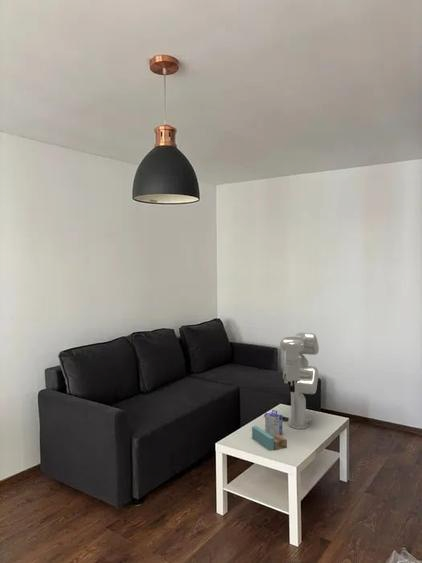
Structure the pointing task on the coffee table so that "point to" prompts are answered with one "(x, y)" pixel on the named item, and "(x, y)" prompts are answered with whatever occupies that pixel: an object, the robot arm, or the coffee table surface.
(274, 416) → the ink cartridge box
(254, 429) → the teal plank
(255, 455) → the coffee table surface
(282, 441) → the walnut block
